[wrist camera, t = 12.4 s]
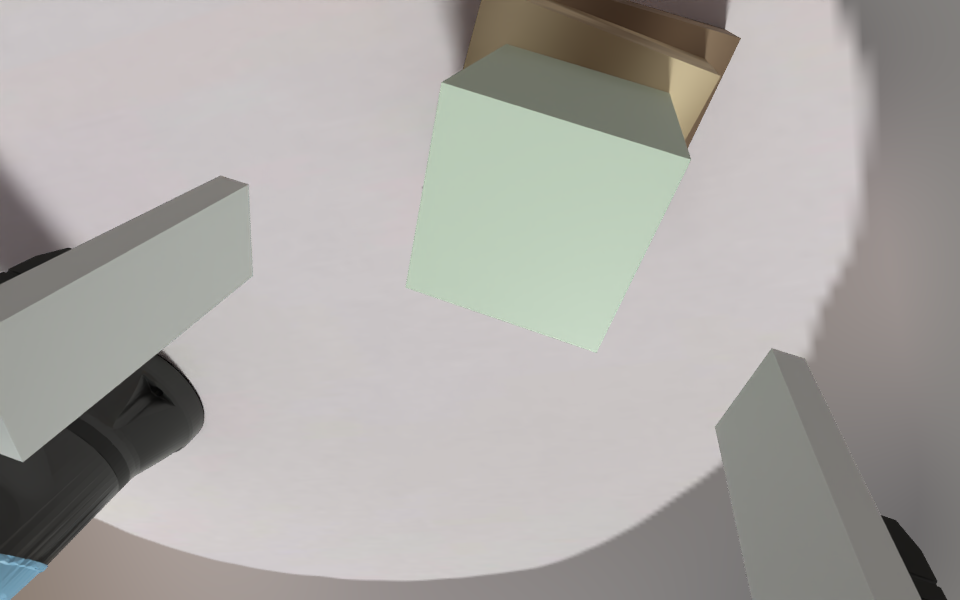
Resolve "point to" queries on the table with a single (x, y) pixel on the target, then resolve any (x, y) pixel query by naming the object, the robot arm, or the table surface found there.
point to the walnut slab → (667, 34)
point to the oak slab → (595, 49)
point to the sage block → (543, 192)
